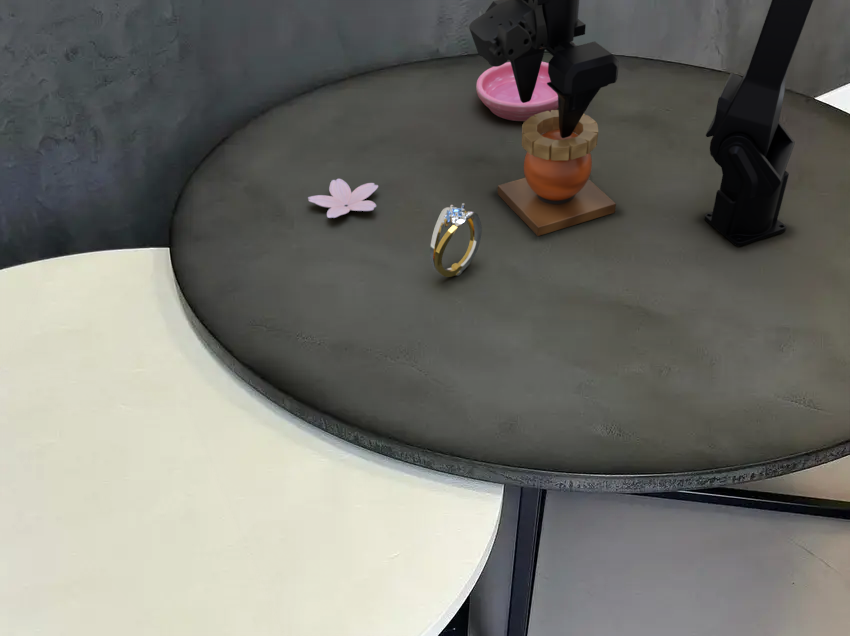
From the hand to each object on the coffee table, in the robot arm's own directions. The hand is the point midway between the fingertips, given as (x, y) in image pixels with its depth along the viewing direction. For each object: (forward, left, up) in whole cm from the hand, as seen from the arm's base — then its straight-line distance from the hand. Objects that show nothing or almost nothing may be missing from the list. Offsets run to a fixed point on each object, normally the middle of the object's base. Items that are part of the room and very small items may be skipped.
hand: (545, 118), depth 110 cm
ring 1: (+16, +10, -9) cm, 21 cm away
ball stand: (0, +3, -9) cm, 9 cm away
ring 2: (0, +3, -1) cm, 4 cm away
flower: (+22, -8, -9) cm, 25 cm away
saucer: (-8, -20, -9) cm, 23 cm away
